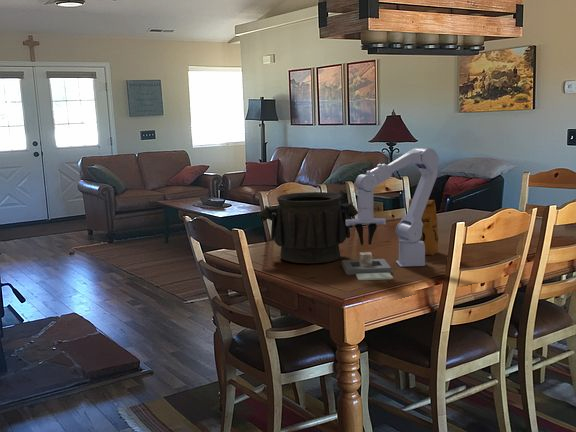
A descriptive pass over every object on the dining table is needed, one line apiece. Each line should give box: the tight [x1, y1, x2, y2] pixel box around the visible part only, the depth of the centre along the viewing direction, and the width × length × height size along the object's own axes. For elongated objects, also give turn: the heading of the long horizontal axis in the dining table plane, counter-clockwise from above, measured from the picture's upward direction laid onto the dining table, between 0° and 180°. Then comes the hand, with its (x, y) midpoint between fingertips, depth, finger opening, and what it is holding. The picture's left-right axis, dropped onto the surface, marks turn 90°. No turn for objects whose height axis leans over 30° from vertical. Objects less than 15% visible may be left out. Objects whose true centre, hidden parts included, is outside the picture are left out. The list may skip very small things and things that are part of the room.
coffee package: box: [407, 198, 439, 256], centre depth 257 cm, size 10×12×22 cm
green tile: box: [355, 272, 394, 281], centre depth 223 cm, size 12×7×1 cm, turn 93°
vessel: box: [257, 191, 358, 264], centre depth 253 cm, size 31×32×25 cm
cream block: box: [359, 251, 373, 266], centre depth 234 cm, size 4×4×6 cm
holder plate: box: [341, 258, 392, 276], centre depth 235 cm, size 16×14×2 cm
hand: (365, 244), depth 233 cm, fingers open, 2 cm apart
